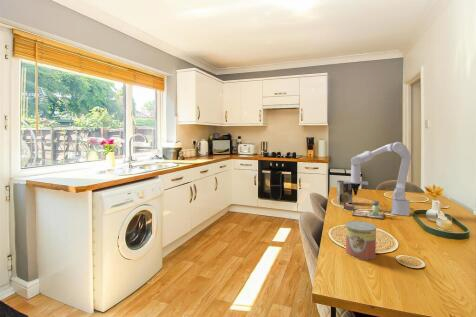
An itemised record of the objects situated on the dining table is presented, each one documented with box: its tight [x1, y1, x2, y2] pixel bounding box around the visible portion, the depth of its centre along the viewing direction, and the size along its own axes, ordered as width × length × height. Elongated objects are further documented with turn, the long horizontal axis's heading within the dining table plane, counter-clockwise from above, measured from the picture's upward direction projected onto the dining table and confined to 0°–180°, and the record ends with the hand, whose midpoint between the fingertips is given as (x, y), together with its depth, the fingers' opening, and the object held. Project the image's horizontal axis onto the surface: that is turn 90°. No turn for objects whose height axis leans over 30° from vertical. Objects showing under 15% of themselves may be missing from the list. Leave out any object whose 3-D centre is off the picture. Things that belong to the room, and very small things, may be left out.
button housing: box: [343, 204, 355, 211], centre depth 174 cm, size 6×6×2 cm
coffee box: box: [336, 179, 353, 204], centre depth 189 cm, size 9×6×16 cm
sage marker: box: [371, 200, 380, 215], centre depth 157 cm, size 3×3×8 cm
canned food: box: [345, 220, 377, 261], centre depth 109 cm, size 11×11×12 cm
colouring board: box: [352, 209, 385, 221], centre depth 160 cm, size 16×12×1 cm
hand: (355, 194), depth 174 cm, fingers closed
